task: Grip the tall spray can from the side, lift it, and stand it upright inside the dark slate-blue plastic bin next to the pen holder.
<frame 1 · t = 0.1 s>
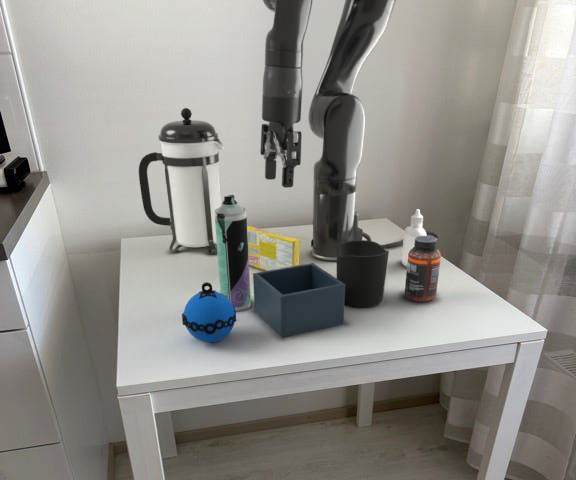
hand: (278, 183, 115), 17 cm above the table, tool pointing down, fingers open, 8 cm apart
coffee press: (193, 247, 135), on the table
bin: (298, 317, 100), on the table
ornament: (211, 341, 93), on the table
pen holder: (359, 300, 107), on the table
spray can: (236, 306, 105), on the table
supplement bottle: (419, 297, 107), on the table
candy box: (269, 271, 120), on the table
eye dropper bottle: (411, 266, 122), on the table
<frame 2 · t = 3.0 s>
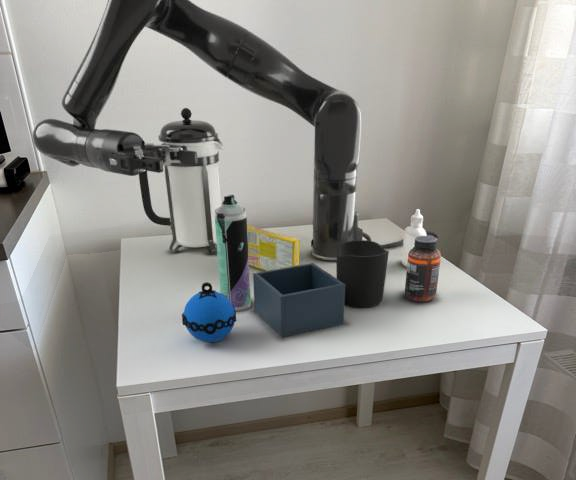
hand: (179, 162, 97), 24 cm above the table, tool horizontal, fingers open, 8 cm apart
nothing on the table moved.
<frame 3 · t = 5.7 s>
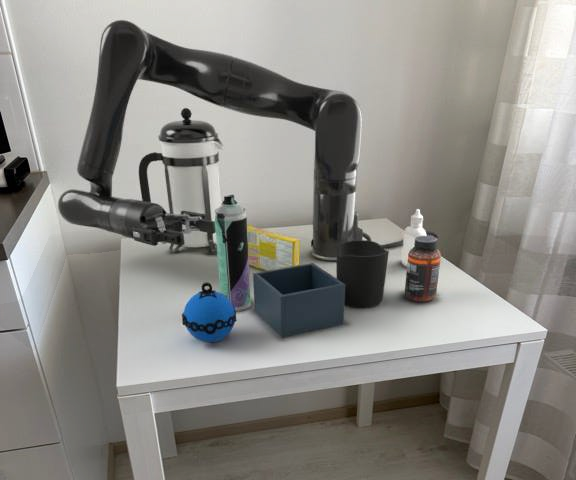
hand: (199, 233, 102), 12 cm above the table, tool horizontal, fingers open, 8 cm apart
nothing on the table moved.
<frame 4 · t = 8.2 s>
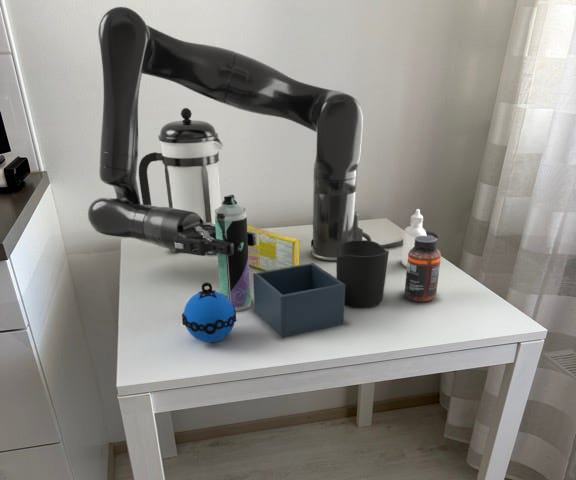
hand: (243, 244, 97), 12 cm above the table, tool horizontal, fingers closed on spray can, 5 cm apart
spray can: (236, 306, 105), on the table, touching gripper
everything else where it was.
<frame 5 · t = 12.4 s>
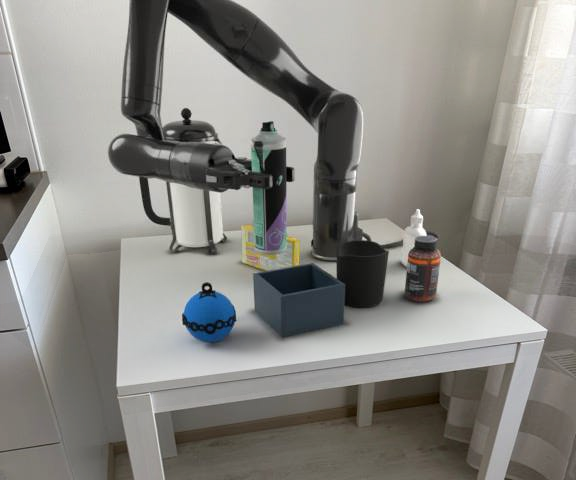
hand: (282, 178, 88), 24 cm above the table, tool horizontal, fingers closed on spray can, 5 cm apart
spray can: (270, 250, 96), point 12 cm above the table, touching gripper
everything else where it was.
when the fingers open (13 cm above the table, at t = 16.6 s): spray can stays where it is, resting on bin.
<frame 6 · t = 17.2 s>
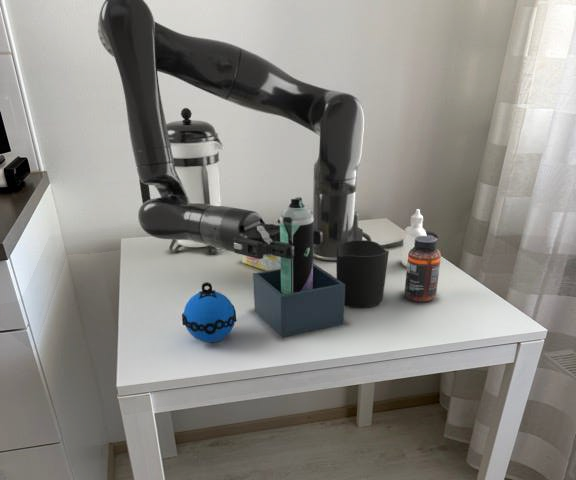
hand: (307, 245, 92), 14 cm above the table, tool horizontal, fingers open, 8 cm apart
spray can: (296, 314, 100), point 1 cm above the table, touching bin
everything else where it was.
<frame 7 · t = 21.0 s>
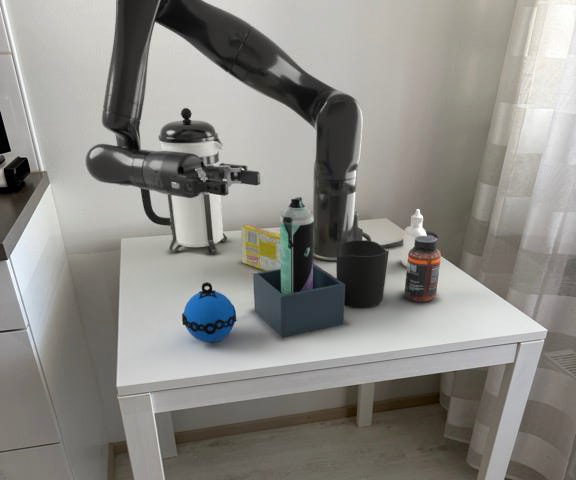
hand: (243, 183, 94), 22 cm above the table, tool horizontal, fingers open, 8 cm apart
nothing on the table moved.
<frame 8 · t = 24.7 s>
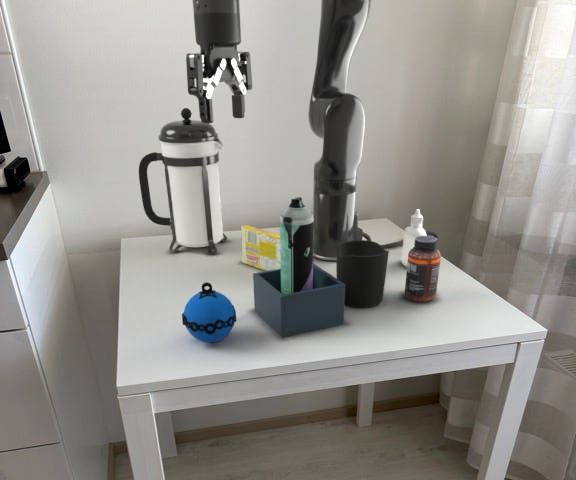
hand: (223, 120, 100), 30 cm above the table, tool pointing down, fingers open, 8 cm apart
nothing on the table moved.
at the end: spray can inside the target area in the bin (0.2 cm from its centre), point 0.6 cm above the bin's base; spray can tilted 0°; the gripper is holding nothing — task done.
